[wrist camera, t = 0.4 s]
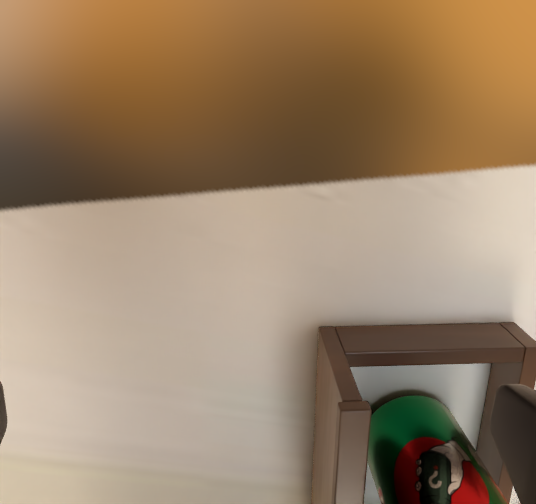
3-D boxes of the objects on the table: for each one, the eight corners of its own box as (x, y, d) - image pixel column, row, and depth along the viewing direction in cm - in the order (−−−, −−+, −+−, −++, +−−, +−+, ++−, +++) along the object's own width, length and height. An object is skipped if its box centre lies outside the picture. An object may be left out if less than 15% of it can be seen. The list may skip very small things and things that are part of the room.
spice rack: (478, 513, 29) (543, 631, 23) (306, 520, 28) (325, 643, 22) (514, 322, 25) (606, 402, 19) (314, 326, 24) (340, 411, 18)
